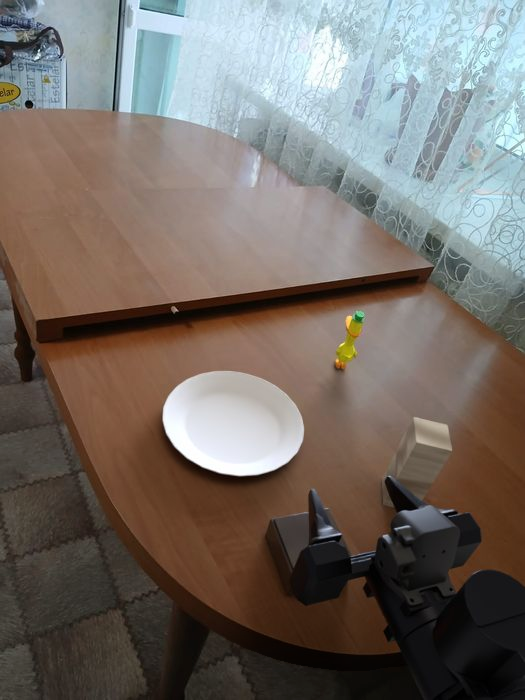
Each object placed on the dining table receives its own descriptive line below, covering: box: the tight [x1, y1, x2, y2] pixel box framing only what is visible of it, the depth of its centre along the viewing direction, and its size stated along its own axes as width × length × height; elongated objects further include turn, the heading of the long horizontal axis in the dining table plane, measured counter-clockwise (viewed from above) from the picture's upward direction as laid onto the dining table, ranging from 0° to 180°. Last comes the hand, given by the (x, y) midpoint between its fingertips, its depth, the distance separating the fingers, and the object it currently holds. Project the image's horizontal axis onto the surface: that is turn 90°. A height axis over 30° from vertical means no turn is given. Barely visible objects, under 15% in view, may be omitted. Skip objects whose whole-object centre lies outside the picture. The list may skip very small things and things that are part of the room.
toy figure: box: [334, 310, 366, 370], centre depth 94 cm, size 7×4×12 cm, turn 1°
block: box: [381, 416, 453, 509], centre depth 73 cm, size 5×5×13 cm
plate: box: [161, 370, 305, 477], centre depth 80 cm, size 21×21×2 cm
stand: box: [264, 507, 353, 597], centre depth 65 cm, size 8×8×4 cm
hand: (350, 484), depth 57 cm, fingers open, 9 cm apart
